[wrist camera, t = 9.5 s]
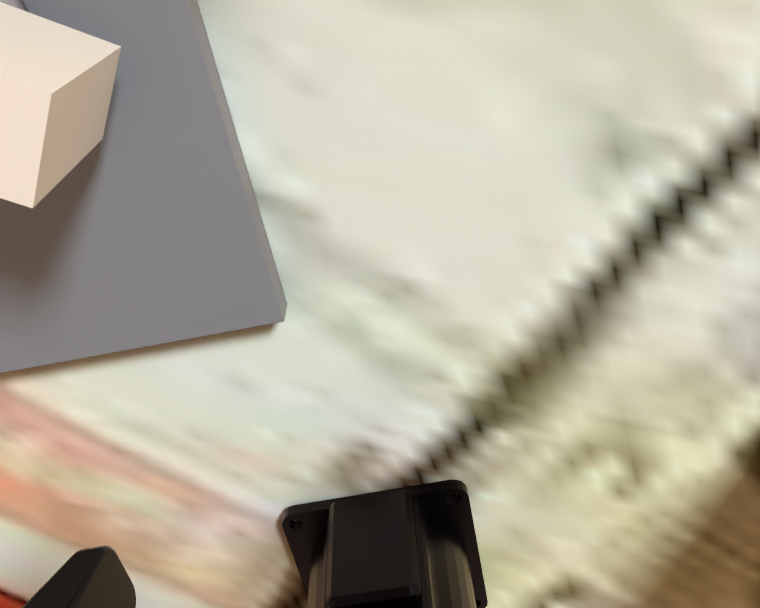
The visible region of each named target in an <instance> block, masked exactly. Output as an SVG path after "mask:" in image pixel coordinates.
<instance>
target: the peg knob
mask: <svg viewBox="0 0 760 608" xmlns="http://www.w3.org/2000/svg"><path fill="white" fill-rule="evenodd" d="M120 50H121V46H119V45H116V44H113V43H110V42H108V41H105V40H102V39H100V38H97V37H94V36H91V35H89V34H86V33H83V32H81V31H78V30H75V29H72V28H70V27H67V26H64V25H62V24H59V23H56V22H53V21H51V20H48V19H45V18H43V17H40V16H37V15H34V14H32V13H29V11H28V8H27V7H26V5H25V3H24V1H23V0H0V198H1V199H5V200H8V201H11V202H14V203H17V204H20V205H24V206H27V207H30V208H34V207H35V206H36V205H37V204H38V203H39V202H40V201H41V200H42V199H43V198H44V197H45V196H46V195H47V194H48V193H49V192H50V191H51V190H52V189H53V188H54V187H55V186H56V185H57V184H58V183H59V182H60V181H61V180H62V179H63V178H64V177H65V176H66V175H67V174H68V173H69V172H70V171H71V170H72V169H73V168H74V167H75V166H76V165H77V164H78V163H79V162H80V161H81V160H82V159H83V158H84V157H85V156H86V155H87V154H88V153H89V152H90V151H91V150H92V149H93V148H94V147H95V146H96V145H97V144H98V143H99V142H100V141H101V140H102V139H103V134H104V129H105V124H106V119H107V115H108V110H109V105H110V100H111V95H112V90H113V85H114V80H115V75H116V70H117V65H118V60H119V55H120Z"/></svg>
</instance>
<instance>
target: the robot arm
mask: <svg viewBox="0 0 760 608" xmlns="http://www.w3.org/2000/svg"><path fill="white" fill-rule="evenodd" d="M453 493H454V494H457V495H455V496H449V495H450V494H453ZM294 519H299V520H301V521H294ZM282 526H283V529H284V532H285V535H286V538H287V540H288V543H289V546H290V549H291V551H292V554H293V557H294V559H295V562H296V565H297V568H298V570H299V573H300V576H301V579H302V581H303V584H304V587H305V590H306V592H307V595H308V608H485V607H486V606H487V596H486V591H485V585H484V579H483V574H482V568H481V563H480V557H479V552H478V546H477V541H476V535H475V530H474V524H473V519H472V513H471V507H470V502H469V496H468V491H467V487H466V485H465V484H464V483H463V482H462V481H458V480H447V481H441V482H435V483H429V484H423V485H417V486H411V487H404V488H398V489H392V490H386V491H380V492H374V493H368V494H362V495H356V496H349V497H343V498H337V499H331V500H325V501H319V502H313V503H307V504H301V505H294V506H291V507H288V508H287V509H286V510H285V511H284V513H283V520H282ZM135 606H136V595H135V589H134V586H133V584H132V582H131V580H130V578H129V576H128V574H127V572H126V571H125V569H124V567H123V565H122V563H121V561H120V560H119V558H118V556H117V554H116V552H115V551H114V549H112V548H111V547H109V546H99V547H93V548H87V549H82V550H80V551H78V552H76V553H75V554H74V555H73V556H72V557H71V558H70V559H69V560H68V561H67V562H66V563H65V564H64V565H63V566H62V567H61V568H60V569H59V570H58V571H57V572H56V573H55V574H54V575H53V576H52V577H51V578H50V579H49V580H48V582H47V583H46V584H45V585H44V586H43V587H42V588H41V589H40V590H39V591H38V592H37V593H36V594H35V595H34V596H33V597H32V598H31V599H30V600H29V601H28V602H27V603H26V604H25V605H24V606H23V607H22V608H135Z"/></svg>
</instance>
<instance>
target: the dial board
mask: <svg viewBox="0 0 760 608" xmlns="http://www.w3.org/2000/svg"><path fill="white" fill-rule="evenodd" d="M23 1H24V3H25V5H26V7H27V8H28V11H29V13H32V14H34V15H37V16H40V17H43V18H45V19H48V20H51V21H53V22H56V23H59V24H62V25H64V26H67V27H70V28H72V29H75V30H78V31H81V32H83V33H86V34H89V35H91V36H94V37H97V38H100V39H102V40H105V41H108V42H110V43H113V44H116V45H119V46H121V50H120V55H119V60H118V65H117V70H116V75H115V80H114V85H113V90H112V95H111V100H110V105H109V110H108V115H107V119H106V124H105V129H104V134H103V139H102V140H101V141H100V142H99V143H98V144H97V145H96V146H95V147H94V148H93V149H92V150H91V151H90V152H89V153H88V154H87V155H86V156H85V157H84V158H83V159H82V160H81V161H80V162H79V163H78V164H77V165H76V166H75V167H74V168H73V169H72V170H71V171H70V172H69V173H68V174H67V175H66V176H65V177H64V178H63V179H62V180H61V181H60V182H59V183H58V184H57V185H56V186H55V187H54V188H53V189H52V190H51V191H50V192H49V193H48V194H47V195H46V196H45V197H44V198H43V199H42V200H41V201H40V202H39V203H38V204H37V205H36V206H35V207H34V208H30V207H27V206H24V205H20V204H17V203H14V202H11V201H8V200H5V199H1V198H0V373H3V372H9V371H14V370H20V369H25V368H31V367H36V366H42V365H47V364H53V363H58V362H64V361H69V360H75V359H80V358H86V357H91V356H97V355H102V354H108V353H113V352H119V351H124V350H130V349H135V348H141V347H146V346H152V345H157V344H162V343H168V342H173V341H179V340H184V339H190V338H195V337H201V336H206V335H212V334H217V333H223V332H228V331H234V330H239V329H245V328H250V327H256V326H261V325H267V324H272V323H278V322H283V321H284V319H285V313H286V307H287V302H286V299H285V295H284V292H283V289H282V285H281V282H280V279H279V275H278V272H277V269H276V265H275V262H274V258H273V255H272V252H271V248H270V245H269V242H268V238H267V235H266V232H265V228H264V225H263V221H262V218H261V215H260V211H259V208H258V205H257V201H256V198H255V195H254V191H253V188H252V184H251V181H250V178H249V174H248V171H247V168H246V164H245V161H244V158H243V154H242V151H241V147H240V144H239V141H238V137H237V134H236V131H235V127H234V124H233V121H232V117H231V114H230V110H229V107H228V104H227V100H226V97H225V94H224V90H223V87H222V83H221V80H220V77H219V73H218V70H217V67H216V63H215V60H214V57H213V53H212V50H211V46H210V43H209V40H208V36H207V33H206V30H205V26H204V23H203V20H202V16H201V13H200V9H199V6H198V3H197V0H23Z"/></svg>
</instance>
